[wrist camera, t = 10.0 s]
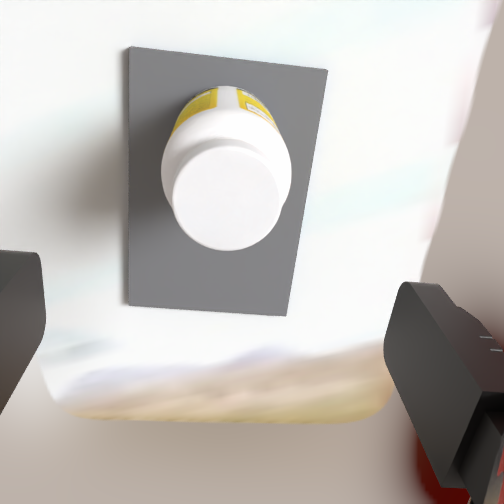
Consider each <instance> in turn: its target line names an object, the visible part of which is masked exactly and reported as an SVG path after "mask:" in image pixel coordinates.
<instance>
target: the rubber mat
mask: <svg viewBox="0 0 504 504" xmlns="http://www.w3.org/2000/svg"><path fill="white" fill-rule="evenodd" d="M327 74H328V70H326V69H318V68H310V67H301V66H293V65H284V64H276V63H267V62H259V61H250V60H242V59H233V58H225V57H217V56H208V55H200V54H191V53H183V52H174V51H166V50H157V49H149V48H140V47H132V46H131V47H129V306H141V307H156V308H170V309H185V310H199V311H214V312H229V313H243V314H258V315H272V316H286V314H287V308H288V302H289V296H290V291H291V285H292V279H293V273H294V267H295V261H296V256H297V250H298V244H299V238H300V232H301V226H302V220H303V215H304V209H305V203H306V197H307V191H308V185H309V180H310V174H311V168H312V162H313V156H314V150H315V144H316V139H317V133H318V127H319V121H320V115H321V109H322V104H323V98H324V92H325V86H326V80H327ZM217 86H232V87H237V88H241V89H244V90H246V91H248V92H250V93H252V94H253V95H254V96H256V97H257V98H258V99H259V100H260V101H261V102H262V103H263V104H264V105H265V106H266V107H267V109H268V110H269V112H270V114H271V115H272V117H273V119H274V121H275V124H276V126H277V128H278V130H279V132H280V134H281V136H282V138H283V140H284V143H285V145H286V147H287V150H288V153H289V157H290V161H291V185H290V190H289V193H288V196H287V198H286V201H285V202H284V204H283V206H282V208H281V212H280V215H279V218H278V220H277V222H276V224H275V226H274V227H273V228H272V230H271V231H270V232H269V233H268V234H267V235H266V236H265V237H264V238H263V239H262V240H260V241H259V242H257V243H255V244H254V245H252V246H249V247H247V248H244V249H240V250H234V251H221V250H215V249H211V248H208V247H205V246H203V245H201V244H199V243H197V242H196V241H194V240H193V239H191V238H190V237H189V236H188V235H187V234H186V233H185V232H184V231H183V230H182V228H181V227H180V226H179V224H178V222H177V220H176V218H175V215H174V212H173V209H172V207H171V206H170V204H169V202H168V200H167V198H166V196H165V193H164V189H163V185H162V179H161V165H162V159H163V154H164V150H165V148H166V145H167V143H168V140H169V138H170V136H171V133H172V131H173V129H174V126H175V123H176V121H177V118H178V116H179V114H180V112H181V111H182V109H183V108H184V106H185V105H186V104H187V102H188V101H189V100H190V99H191V98H193V97H194V96H195V95H197V94H198V93H200V92H202V91H204V90H206V89H209V88H212V87H217Z"/></svg>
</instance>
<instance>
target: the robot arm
mask: <svg viewBox="0 0 504 504" xmlns="http://www.w3.org/2000/svg"><path fill="white" fill-rule="evenodd" d="M45 324H46V310H45V300H44V289H43V278H42V268H41V261H40V257H39V255H38V254H37V253H35V252H22V251H9V250H0V414H1V413H2V411H3V409H4V407H5V405H6V404H7V402H8V400H9V398H10V397H11V395H12V393H13V391H14V389H15V388H16V386H17V384H18V382H19V380H20V379H21V377H22V375H23V373H24V372H25V370H26V368H27V366H28V364H29V363H30V361H31V359H32V357H33V355H34V354H35V352H36V350H37V348H38V347H39V345H40V343H41V341H42V338H43V335H44V330H45ZM502 350H503V349H502V348H501V347H500V345H499V344H498V343H497V342H496V340H495V339H492V336H491V334H490V333H489V332H488V331H487V329H486V328H485V327H484V326H483V325H482V323H481V322H480V321H479V320H478V319H476V318H475V317H473V316H472V315H471V314H469V313H468V312H466V311H465V310H464V309H462V308H461V307H457V306H456V305H455V304H454V303H453V301H452V300H451V299H450V298H449V296H448V295H447V294H446V292H445V291H444V290H443V288H442V287H441V286H440V285H438V284H431V283H418V282H404V283H402V284H401V286H400V288H399V290H398V293H397V296H396V300H395V303H394V307H393V310H392V314H391V317H390V321H389V324H388V328H387V331H386V334H385V338H384V359H385V363H386V366H387V368H388V370H389V372H390V375H391V377H392V379H393V381H394V383H395V386H396V388H397V390H398V392H399V394H400V397H401V399H402V401H403V403H404V405H405V408H406V410H407V412H408V414H409V416H410V419H411V421H412V423H413V425H414V428H415V430H416V432H417V434H418V436H419V439H420V441H421V443H422V445H423V447H424V450H425V452H426V454H427V457H428V459H429V461H430V463H431V465H432V468H433V470H434V472H435V474H436V476H437V479H438V481H439V483H440V485H441V487H448V488H467V490H468V492H469V494H470V496H471V497H470V500H469V502H468V504H504V352H502Z"/></svg>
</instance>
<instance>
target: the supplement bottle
mask: <svg viewBox="0 0 504 504" xmlns="http://www.w3.org/2000/svg"><path fill="white" fill-rule="evenodd" d="M161 179H162V185H163V189H164V193H165V196H166V198H167V200H168V202H169V204H170V206H171V207H172V209H173V212H174V215H175V218H176V220H177V222H178V224H179V226H180V227H181V228H182V230H183V231H184V232H185V233H186V234H187V235H188V236H189V237H190V238H191V239H193V240H194V241H196V242H197V243H199V244H201V245H203V246H205V247H208V248H211V249H215V250H221V251H234V250H240V249H244V248H247V247H249V246H252V245H254V244H255V243H257V242H259V241H260V240H262V239H263V238H264V237H265V236H266V235H267V234H268V233H269V232H270V231H271V230H272V228H273V227H274V226H275V224H276V222H277V220H278V218H279V215H280V212H281V208H282V206H283V204H284V202H285V201H286V198H287V196H288V193H289V190H290V185H291V161H290V157H289V153H288V150H287V147H286V145H285V143H284V140H283V138H282V136H281V134H280V132H279V130H278V128H277V126H276V124H275V121H274V119H273V117H272V115H271V114H270V112H269V110H268V109H267V107H266V106H265V105H264V104H263V103H262V102H261V101H260V100H259V99H258V98H257V97H256V96H254V95H253V94H252V93H250V92H248V91H246V90H244V89H241V88H237V87H232V86H217V87H212V88H209V89H206V90H204V91H202V92H200V93H198V94H197V95H195V96H194V97H193V98H191V99H190V100H189V101H188V102H187V104H186V105H185V106H184V108H183V109H182V111H181V112H180V114H179V116H178V118H177V121H176V123H175V126H174V129H173V131H172V133H171V136H170V138H169V140H168V143H167V145H166V148H165V150H164V154H163V159H162V165H161Z"/></svg>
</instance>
